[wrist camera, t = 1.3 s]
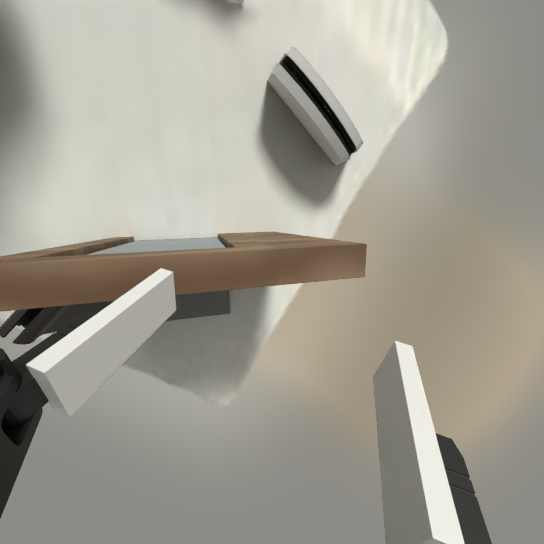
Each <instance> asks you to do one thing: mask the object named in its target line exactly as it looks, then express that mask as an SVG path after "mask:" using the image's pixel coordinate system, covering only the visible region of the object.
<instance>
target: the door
mask: <svg viewBox="0 0 544 544" xmlns="http://www.w3.org/2000/svg"><path fill="white" fill-rule="evenodd" d="M211 248H226V247H225V246H224V245H223V244H222V243H221V242H220V241H219V239H218V238H217V237H214V238H189V239H164V240H139V241H134V242H131V243H127V244H123V245H120V246H116V247H112V248H109V249H105V250H101V251H98V252H94V253H90V254H87V255H94V254H113V253H133V252H152V251H172V250H192V249H211Z"/></svg>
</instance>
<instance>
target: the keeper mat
mask: <svg viewBox="0 0 544 544" xmlns="http://www.w3.org/2000/svg"><path fill="white" fill-rule="evenodd" d="M175 300H176V311H175V312H174V313H173V314H172V315H171V316H170V317H169V318H168V319H167V320H166V321H169V320H177V319H186V318H194V317H202V316H211V315H219V314H228V313H230V308H229V292H228V290H222V291H212V292H201V293H190V294H180V295H175Z"/></svg>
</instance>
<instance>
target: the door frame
mask: <svg viewBox="0 0 544 544" xmlns="http://www.w3.org/2000/svg"><path fill="white" fill-rule="evenodd" d="M218 238H219V241H220V242H221V243H222V244H223V245H224V246H225V247H226V248H211V249H192V250H172V251H152V252H133V253H113V254H94V255H87V254H90V253H94V252H98V251H101V250H105V249H109V248H112V247H116V246H120V245H123V244H127V243H131V242H134V238H133V237H117V238H108V239H103V240H97V241H91V242H85V243H79V244H73V245H67V246H61V247H55V248H49V249H43V250H37V251H31V252H25V253H19V254H13V255H7V256H1V257H0V312H1V311H11V310H22V309H32V308H43V307H53V306H64V305H74V304H85V303H95V302H106V301H116V300H117V299H118V298H120V297H121V296H123V295H124V294H125V293H127V292H128V291H130V290H131V289H132V288H134V287H135V286H137V285H138V284H139V283H141V282H142V281H144V280H145V279H146V278H148V277H149V276H151V275H152V274H153V273H155V272H156V271H158V270H159V269H160V268H162V269H165V270H169V271H172V272H173V275H174V287H175V295H180V294H190V293H201V292H212V291H222V290H233V289H243V288H254V287H264V286H275V285H285V284H296V283H306V282H317V281H327V280H338V279H348V278H359V277H365V264H366V244H362V243H354V242H346V241H338V240H332V239H324V238H317V237H309V236H301V235H294V234H286V233H279V232H254V233H227V234H218Z"/></svg>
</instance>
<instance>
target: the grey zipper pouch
mask: <svg viewBox="0 0 544 544" xmlns="http://www.w3.org/2000/svg"><path fill="white" fill-rule="evenodd" d="M267 81H268V82H269V83H270V85H271V86H272V87H273V89H274V90H275V91H276V92H277V94H278V95H279V96H280V97H281V99H282V100H283V101H284V102H285V104H286V105H287V106H288V107H289V109H290V110H291V111H292V112H293V114H294V115H295V116H296V117H297V119H298V120H299V121H300V122H301V124H302V125H303V126H304V127H305V129H306V130H307V131H308V132H309V134H310V135H311V136H312V137H313V139H314V140H315V141H316V142H317V144H318V145H319V146H320V148H321V149H322V150H323V151H324V153H325V154H326V155H327V156H328V158H329V159H330V160H331V161H332V163H333V164H334V165H335V166H336V165H339V164H342V163H343V162H345V161H347V160H348V159H350V155H351V154H352V153H354V152H356V151H358V149H359V148H360V147H361V145H362V144H363V141H362V138H361V137H360V135H359V133H358V131H357V129H356V128H355V126H354V124H353V123H352V121H351V119H350V118H349V116H348V115H347V113H346V111H345V110H344V108H343V107H342V105H341V104H340V102H339V101H338V99H337V98H336V97H335V95H334V94H333V93H332V91H331V90H330V88H329V87H328V86H327V84H326V83H325V82H324V80H323V79H322V78H321V77H320V75H319V74H318V73H317V72H316V70H315V69H314V68H313V67H312V65H311V64H310V63H309V62H308V61H307V60H306V59H305V57H304V56H303V55H302V54H301V53H300V52H299V51H298V50H297V49H296V48H295V47H292V48H291V49H290V50H289V51H288V52H286V53H285V54H284V56H283V57H282V59H281V61H280V62H279V64H278V63H277V64H276V66H275V68H274V69H273V71H272V72H271V74H270V76H269V78H268V80H267Z"/></svg>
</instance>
